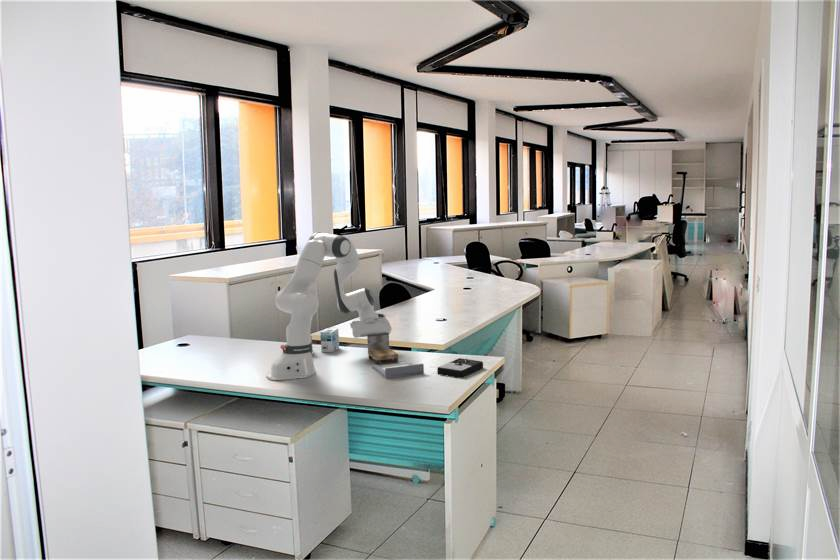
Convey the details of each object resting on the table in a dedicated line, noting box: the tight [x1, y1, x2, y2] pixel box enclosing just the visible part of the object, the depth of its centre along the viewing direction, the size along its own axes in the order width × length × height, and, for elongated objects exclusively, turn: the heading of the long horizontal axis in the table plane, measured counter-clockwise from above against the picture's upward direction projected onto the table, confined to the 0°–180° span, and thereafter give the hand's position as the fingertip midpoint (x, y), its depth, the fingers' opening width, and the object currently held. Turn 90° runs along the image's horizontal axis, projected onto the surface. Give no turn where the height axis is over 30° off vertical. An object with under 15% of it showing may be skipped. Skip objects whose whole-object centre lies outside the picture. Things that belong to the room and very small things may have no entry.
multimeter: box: [437, 357, 484, 379], centre depth 313 cm, size 13×19×5 cm
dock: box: [370, 361, 425, 380], centre depth 319 cm, size 18×24×6 cm
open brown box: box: [366, 332, 399, 365], centre depth 337 cm, size 11×14×12 cm
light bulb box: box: [320, 327, 340, 353], centre depth 363 cm, size 11×7×11 cm, turn 168°
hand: (375, 341), depth 348 cm, fingers closed
